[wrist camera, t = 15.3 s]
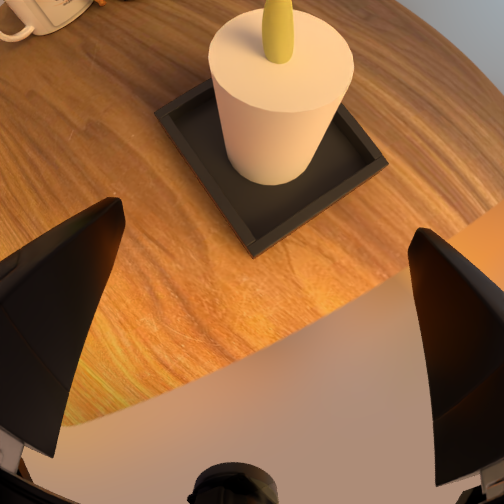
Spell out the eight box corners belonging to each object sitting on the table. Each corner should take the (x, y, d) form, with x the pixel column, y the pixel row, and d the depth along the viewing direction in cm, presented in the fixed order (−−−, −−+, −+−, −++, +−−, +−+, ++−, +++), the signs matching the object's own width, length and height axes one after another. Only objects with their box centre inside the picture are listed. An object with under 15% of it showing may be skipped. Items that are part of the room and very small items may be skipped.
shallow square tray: (377, 173, 23) (389, 163, 21) (253, 259, 23) (253, 257, 20) (281, 59, 24) (283, 41, 21) (162, 126, 23) (153, 112, 21)
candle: (326, 125, 22) (400, -28, 7) (292, 200, 22) (362, 72, 7) (249, 93, 23) (248, -75, 8) (210, 163, 22) (155, 7, 7)
